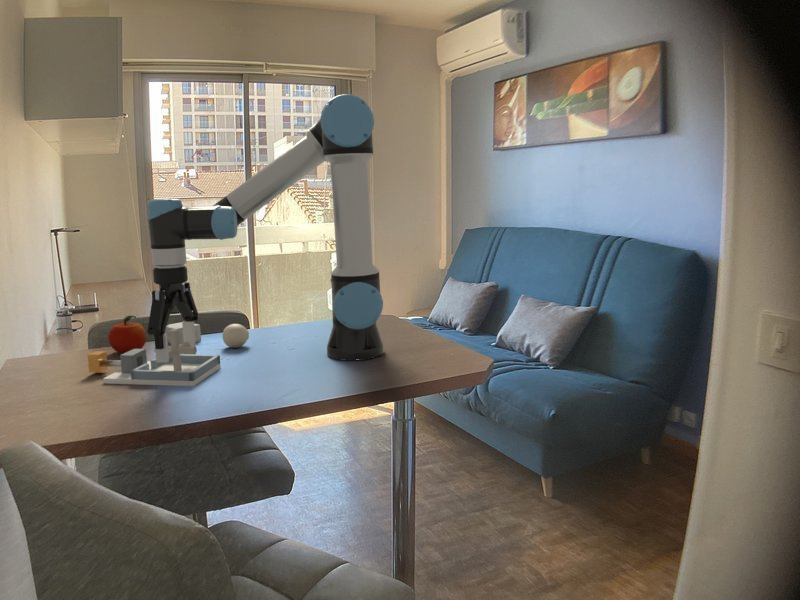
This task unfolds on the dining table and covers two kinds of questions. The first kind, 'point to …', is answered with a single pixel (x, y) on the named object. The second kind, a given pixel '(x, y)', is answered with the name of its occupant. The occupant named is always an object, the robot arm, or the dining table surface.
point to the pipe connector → (178, 349)
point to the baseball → (235, 335)
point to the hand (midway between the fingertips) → (177, 354)
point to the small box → (180, 332)
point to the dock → (163, 370)
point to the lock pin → (101, 362)
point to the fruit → (127, 336)
